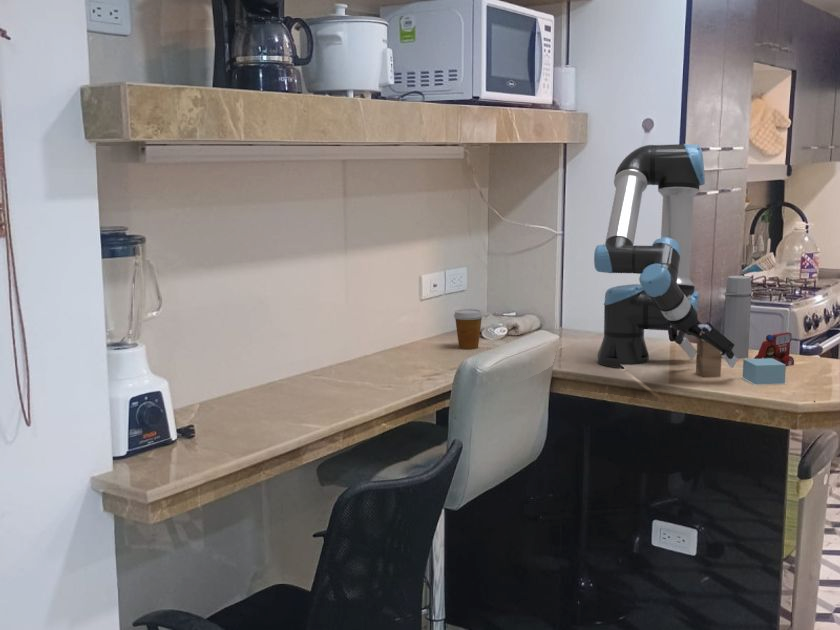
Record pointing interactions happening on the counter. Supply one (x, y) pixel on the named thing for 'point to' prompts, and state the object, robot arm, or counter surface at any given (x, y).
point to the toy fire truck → (777, 348)
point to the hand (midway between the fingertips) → (713, 359)
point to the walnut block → (707, 360)
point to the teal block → (764, 371)
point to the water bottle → (737, 314)
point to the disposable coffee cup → (468, 327)
